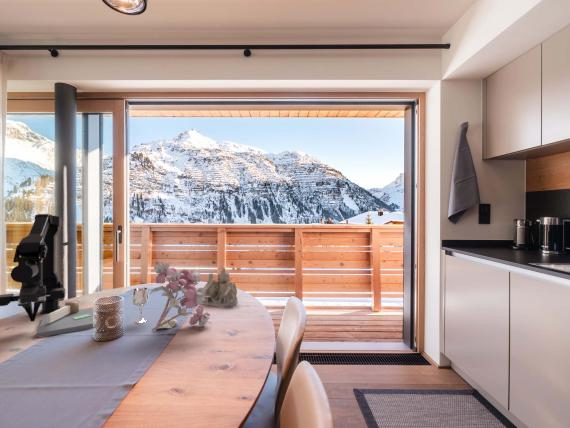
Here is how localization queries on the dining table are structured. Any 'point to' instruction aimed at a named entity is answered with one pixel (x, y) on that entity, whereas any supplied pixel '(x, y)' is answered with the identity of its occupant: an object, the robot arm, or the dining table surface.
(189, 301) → the flower
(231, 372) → the dining table surface
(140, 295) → the wineglass
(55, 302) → the robot arm
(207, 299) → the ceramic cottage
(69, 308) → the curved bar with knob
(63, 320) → the dial plate
